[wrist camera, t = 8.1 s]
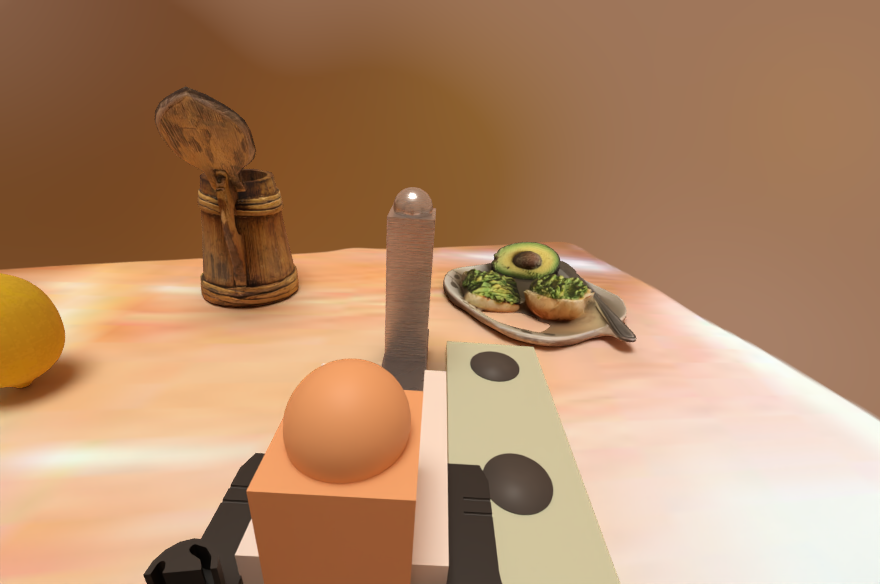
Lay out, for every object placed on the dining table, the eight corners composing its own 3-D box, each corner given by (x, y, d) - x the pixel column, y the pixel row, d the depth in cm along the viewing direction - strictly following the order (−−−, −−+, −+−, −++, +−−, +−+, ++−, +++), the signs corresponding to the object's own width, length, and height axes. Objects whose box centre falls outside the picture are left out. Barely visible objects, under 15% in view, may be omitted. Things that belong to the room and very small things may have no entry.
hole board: (451, 910, 10) (455, 899, 10) (445, 351, 33) (446, 340, 32) (724, 919, 10) (741, 908, 10) (531, 357, 33) (533, 345, 32)
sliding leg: (295, 745, 11) (232, 421, 6) (323, 624, 13) (295, 326, 9) (398, 750, 11) (420, 433, 6) (407, 628, 14) (427, 335, 9)
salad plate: (682, 337, 39) (699, 294, 37) (544, 388, 30) (556, 335, 28) (542, 265, 53) (548, 231, 51) (423, 286, 45) (425, 246, 43)
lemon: (-8, 428, 23) (-76, 301, 19) (-61, 398, 24) (-132, 276, 21) (100, 375, 27) (61, 264, 24) (49, 352, 29) (6, 246, 26)
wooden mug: (166, 337, 32) (100, 79, 24) (217, 270, 44) (184, 84, 36) (285, 333, 34) (260, 92, 26) (304, 270, 45) (290, 92, 38)
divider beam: (233, 1082, 8) (-94, 940, 2) (390, 348, 33) (394, 177, 27) (380, 1084, 8) (399, 954, 3) (427, 350, 33) (439, 180, 27)
